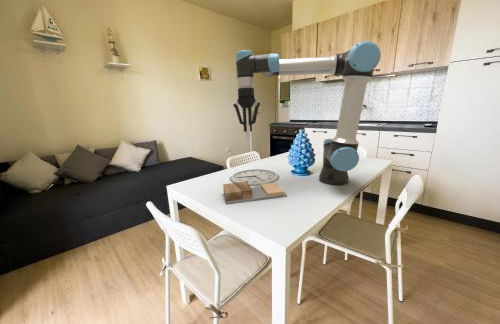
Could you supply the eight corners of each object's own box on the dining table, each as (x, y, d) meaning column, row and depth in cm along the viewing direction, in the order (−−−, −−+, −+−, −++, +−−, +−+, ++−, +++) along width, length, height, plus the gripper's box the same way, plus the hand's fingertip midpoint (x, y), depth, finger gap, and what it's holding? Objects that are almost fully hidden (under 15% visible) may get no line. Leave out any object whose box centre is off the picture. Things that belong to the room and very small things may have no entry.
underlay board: (277, 186, 115) (277, 181, 115) (286, 196, 102) (286, 191, 101) (224, 192, 110) (223, 188, 110) (226, 204, 97) (226, 199, 96)
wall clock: (286, 170, 137) (267, 186, 112) (286, 173, 138) (267, 189, 112) (244, 166, 151) (219, 180, 126) (244, 169, 152) (219, 182, 126)
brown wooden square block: (246, 181, 110) (223, 184, 108) (252, 189, 99) (225, 193, 96) (247, 188, 111) (223, 191, 109) (252, 198, 100) (226, 201, 97)
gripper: (257, 88, 106) (259, 136, 112) (230, 88, 104) (234, 138, 109) (261, 86, 99) (263, 138, 105) (232, 87, 96) (236, 140, 102)
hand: (248, 138), depth 107 cm, fingers closed
